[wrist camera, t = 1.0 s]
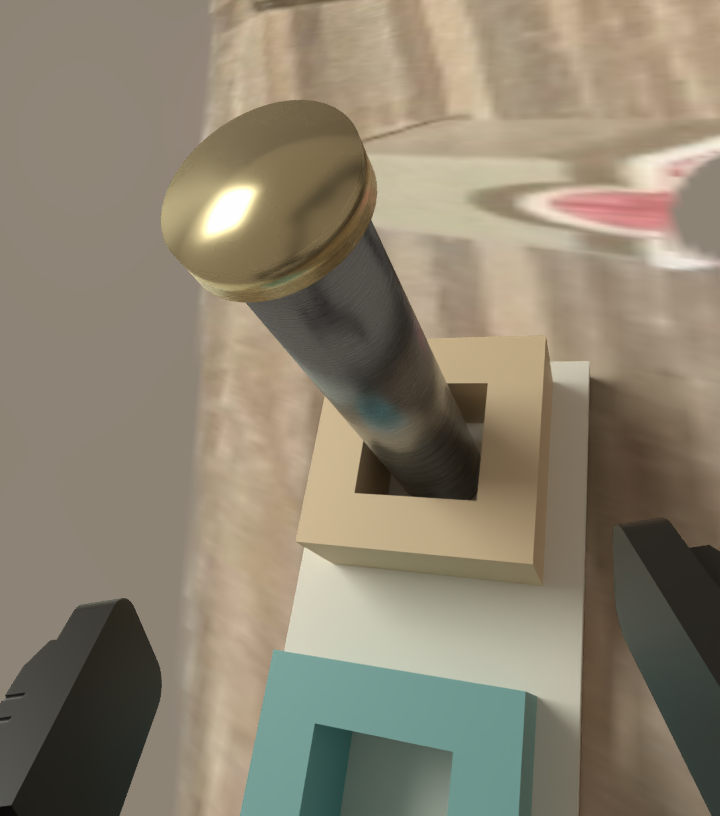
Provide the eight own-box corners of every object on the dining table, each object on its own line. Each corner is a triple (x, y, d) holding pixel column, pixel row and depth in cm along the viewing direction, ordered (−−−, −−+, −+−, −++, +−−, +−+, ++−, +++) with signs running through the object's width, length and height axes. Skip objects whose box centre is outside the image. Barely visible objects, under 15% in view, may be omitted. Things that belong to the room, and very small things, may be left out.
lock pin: (400, 423, 30) (193, 117, 15) (499, 425, 29) (378, 83, 13) (386, 518, 29) (135, 280, 13) (490, 526, 27) (340, 265, 12)
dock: (350, 378, 34) (309, 323, 30) (589, 376, 30) (586, 311, 25) (240, 962, 25) (154, 1017, 20) (571, 1086, 20) (561, 1193, 16)
